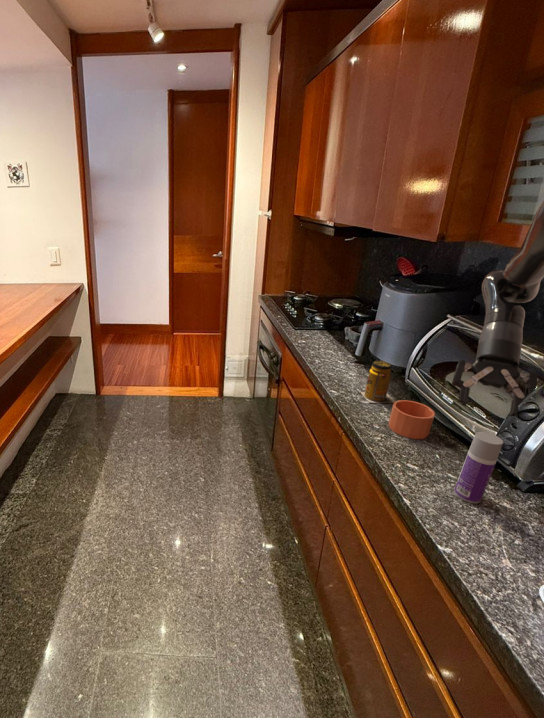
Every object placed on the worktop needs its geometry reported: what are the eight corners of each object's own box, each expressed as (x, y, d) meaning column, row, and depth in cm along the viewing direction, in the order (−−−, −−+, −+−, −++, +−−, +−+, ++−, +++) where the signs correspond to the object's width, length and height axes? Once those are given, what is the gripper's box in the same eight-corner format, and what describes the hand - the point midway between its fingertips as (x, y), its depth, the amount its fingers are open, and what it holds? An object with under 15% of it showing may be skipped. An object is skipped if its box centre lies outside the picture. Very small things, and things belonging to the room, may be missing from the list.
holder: (423, 423, 110) (429, 403, 108) (433, 442, 102) (439, 421, 99) (385, 417, 113) (390, 398, 111) (392, 435, 105) (397, 414, 102)
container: (484, 505, 81) (508, 446, 75) (458, 500, 83) (480, 442, 77) (475, 490, 85) (498, 433, 80) (450, 486, 87) (471, 429, 81)
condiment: (359, 392, 128) (366, 358, 123) (386, 392, 127) (394, 359, 122) (368, 403, 121) (376, 368, 116) (396, 404, 120) (405, 369, 116)
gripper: (465, 332, 90) (452, 395, 86) (547, 344, 83) (538, 414, 78) (457, 346, 96) (445, 406, 92) (533, 359, 89) (524, 424, 84)
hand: (488, 409), depth 85 cm, fingers open, 8 cm apart
